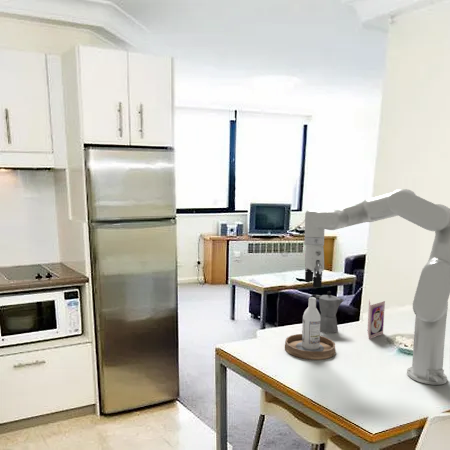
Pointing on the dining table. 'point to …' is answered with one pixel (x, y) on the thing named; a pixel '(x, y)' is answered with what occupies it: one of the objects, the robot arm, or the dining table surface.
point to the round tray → (295, 348)
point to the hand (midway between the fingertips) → (312, 284)
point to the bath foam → (311, 326)
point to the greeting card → (375, 319)
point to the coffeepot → (328, 312)
